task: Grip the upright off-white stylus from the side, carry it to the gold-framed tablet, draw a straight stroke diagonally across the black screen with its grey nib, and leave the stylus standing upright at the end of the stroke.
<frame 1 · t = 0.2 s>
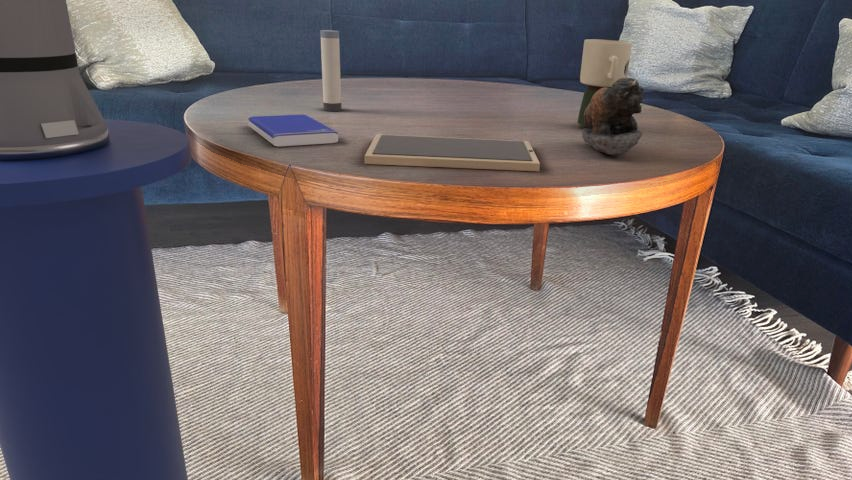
tablet: (452, 155, 79), on the table
blue book: (292, 136, 85), on the table
stylus: (332, 109, 104), on the table
bison figurine: (607, 153, 86), on the table
character mug: (596, 129, 101), on the table
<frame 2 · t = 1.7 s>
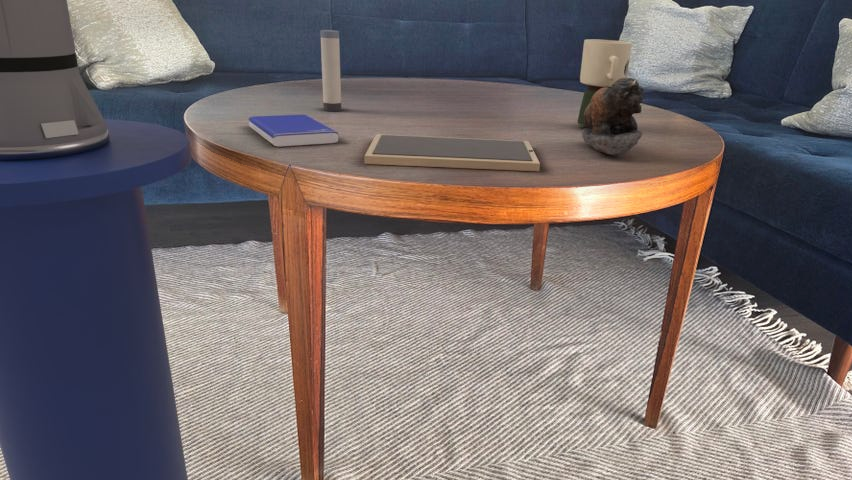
nothing on the table moved.
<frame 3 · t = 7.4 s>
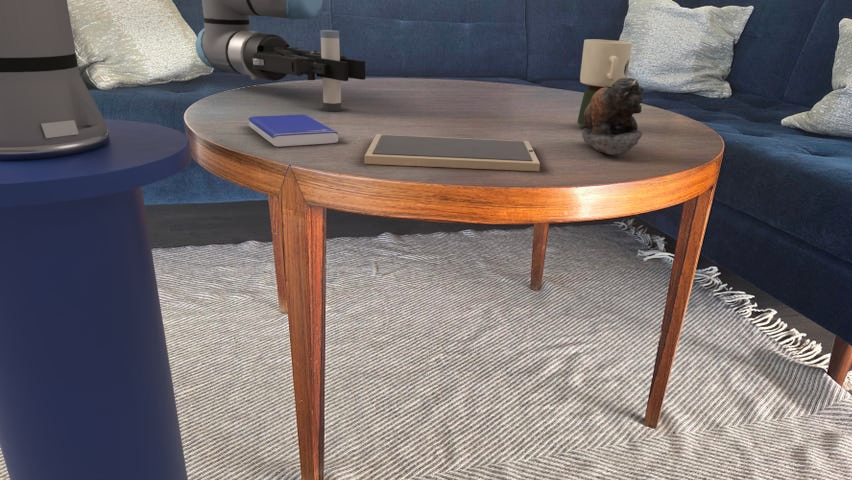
hand: (354, 71, 98), 7 cm above the table, tool horizontal, fingers closed on stylus, 3 cm apart
stylus: (332, 109, 104), on the table, touching gripper
everything else where it was.
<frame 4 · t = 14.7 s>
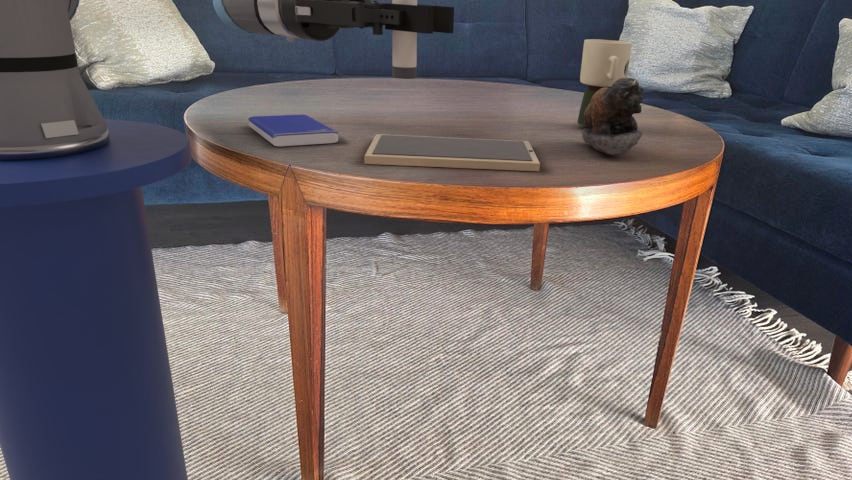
hand: (441, 20, 70), 16 cm above the table, tool horizontal, fingers closed on stylus, 3 cm apart
stylus: (404, 77, 75), point 9 cm above the table, touching gripper
everything else where it was.
when the fingers open (8 cm above the table, at t = 22.4 s): stylus stays where it is, resting on tablet.
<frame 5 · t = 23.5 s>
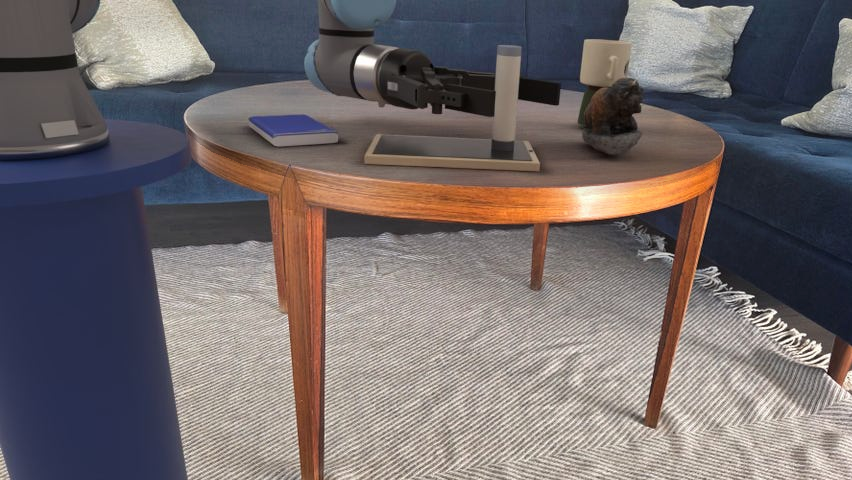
hand: (528, 99, 75), 8 cm above the table, tool horizontal, fingers open, 13 cm apart
stylus: (502, 149, 79), point 1 cm above the table, touching tablet
everything else where it was.
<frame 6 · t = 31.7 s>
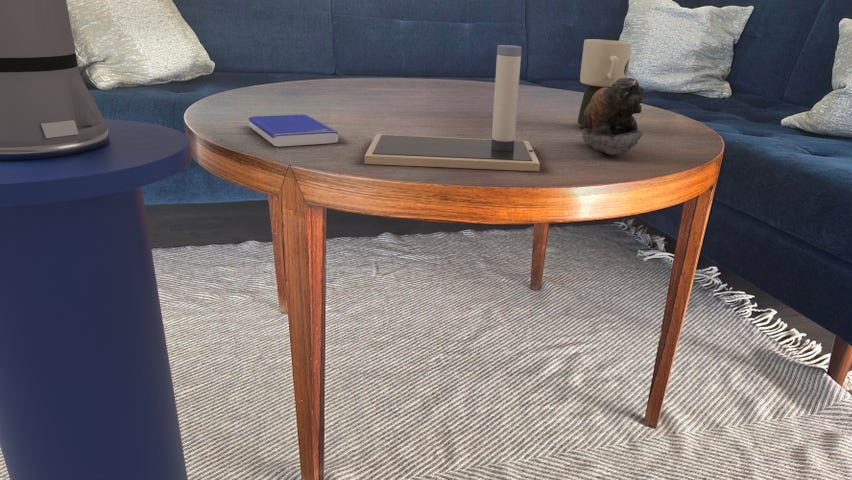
nothing on the table moved.
at the end: stylus 0.1 cm from the target spot on the tablet, point 1.1 cm above the tablet's base; stylus tilted 0°; the gripper is holding nothing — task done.
